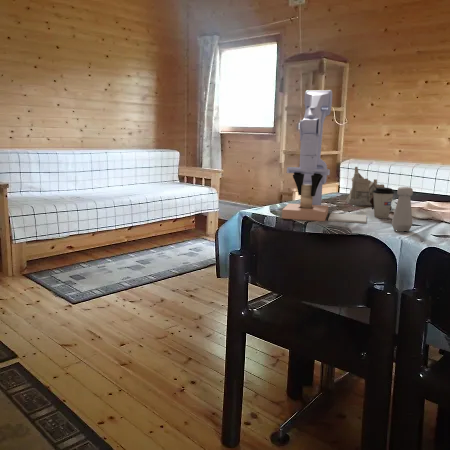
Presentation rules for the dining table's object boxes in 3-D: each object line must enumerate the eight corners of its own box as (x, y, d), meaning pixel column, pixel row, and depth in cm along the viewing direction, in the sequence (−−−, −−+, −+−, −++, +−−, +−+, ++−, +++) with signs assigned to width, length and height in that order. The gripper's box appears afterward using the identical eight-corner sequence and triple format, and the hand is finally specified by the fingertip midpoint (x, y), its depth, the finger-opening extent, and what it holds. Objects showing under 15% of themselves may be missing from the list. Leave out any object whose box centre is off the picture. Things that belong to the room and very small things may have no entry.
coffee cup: (366, 216, 160) (368, 187, 158) (378, 214, 165) (380, 186, 163) (384, 219, 155) (387, 189, 153) (396, 217, 160) (398, 188, 158)
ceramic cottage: (344, 204, 187) (349, 166, 184) (346, 200, 203) (351, 165, 200) (385, 208, 183) (390, 170, 180) (384, 204, 198) (389, 169, 196)
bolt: (384, 218, 169) (373, 210, 183) (397, 211, 168) (385, 203, 182) (377, 204, 168) (367, 197, 182) (390, 197, 167) (379, 191, 181)
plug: (302, 206, 162) (303, 184, 160) (313, 208, 160) (314, 184, 158) (298, 208, 158) (299, 185, 156) (309, 209, 156) (311, 186, 155)
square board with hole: (288, 211, 168) (288, 203, 167) (327, 214, 164) (328, 205, 163) (282, 218, 155) (282, 209, 154) (324, 221, 151) (325, 212, 150)
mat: (330, 214, 163) (330, 213, 163) (366, 216, 159) (366, 215, 159) (328, 220, 152) (328, 219, 151) (366, 223, 148) (366, 221, 148)
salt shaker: (388, 231, 137) (392, 187, 135) (393, 227, 142) (397, 185, 139) (409, 233, 134) (413, 188, 131) (413, 230, 139) (417, 187, 136)
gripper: (284, 154, 155) (282, 195, 158) (326, 156, 148) (324, 198, 151) (291, 154, 161) (289, 192, 164) (332, 155, 154) (330, 196, 157)
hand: (306, 195), depth 158 cm, fingers closed on plug, 4 cm apart
